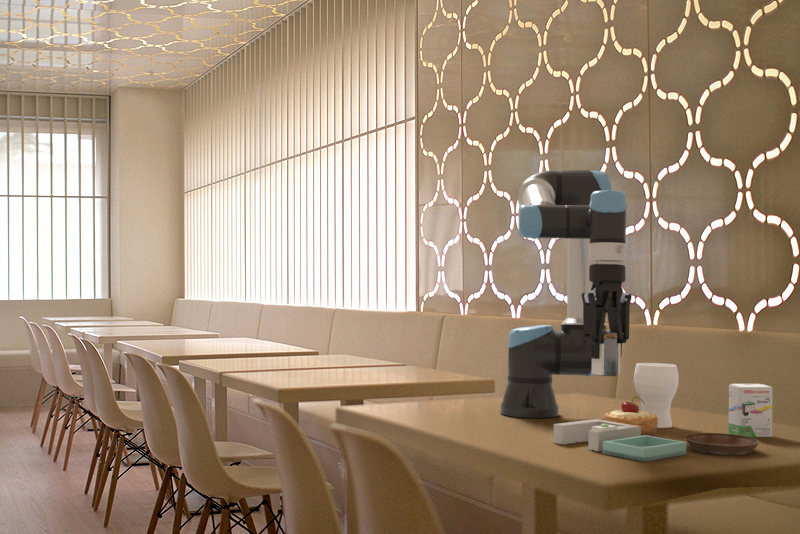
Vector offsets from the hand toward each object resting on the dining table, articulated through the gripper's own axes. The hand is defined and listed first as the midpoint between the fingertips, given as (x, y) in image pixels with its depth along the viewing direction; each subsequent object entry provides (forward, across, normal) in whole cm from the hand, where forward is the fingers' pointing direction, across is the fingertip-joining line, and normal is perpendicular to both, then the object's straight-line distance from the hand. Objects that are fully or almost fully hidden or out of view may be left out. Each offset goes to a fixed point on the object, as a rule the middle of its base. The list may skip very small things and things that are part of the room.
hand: (605, 373), depth 189 cm
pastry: (+15, +18, +8) cm, 25 cm away
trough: (+15, +1, -10) cm, 18 cm away
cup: (+15, +34, +13) cm, 40 cm away
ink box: (+15, +42, -8) cm, 45 cm away
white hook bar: (+15, +1, +4) cm, 16 cm away
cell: (0, 0, 0) cm, 0 cm away
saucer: (+16, +19, -15) cm, 29 cm away
